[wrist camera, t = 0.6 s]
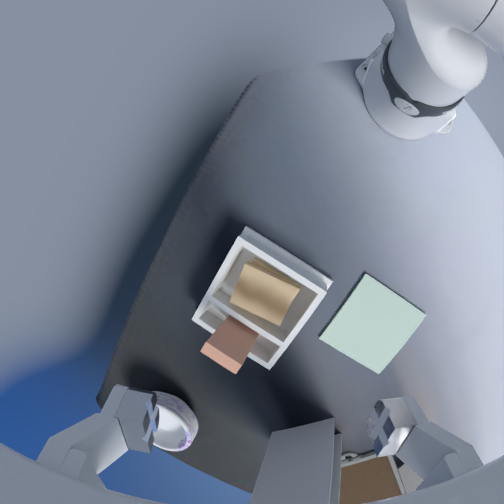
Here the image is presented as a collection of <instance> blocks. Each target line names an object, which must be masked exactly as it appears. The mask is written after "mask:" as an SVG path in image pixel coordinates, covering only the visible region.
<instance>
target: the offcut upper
mask: <svg viewBox="0 0 504 504" xmlns="http://www.w3.org/2000/svg"><path fill="white" fill-rule="evenodd" d="M298 287H299V284H297V283H295V282H292V281H290V280H288V279H286V278H284V277H281V276H279V275H277V274H275V273H273V272H271V271H268V270H266V269H264V268H262V267H260V266H258V265H255V264H253V263H251V262H249V261H248V262H246V263H245V265H244V267H243V270H242V272H241V275H240V277H239V280H238V282H237V284H236V287H235V289H234V292H233V294H232V297H231V299H230V303H232V304H234V305H236V306H239V307H241V308H243V309H245V310H247V311H249V312H251V313H253V314H255V315H257V316H259V317H262V318H264V319H266V320H268V321H270V322H272V323H274V324H277V325H279V326H280V325H281V323H282V321H283V319H284V317H285V315H286V313H287V310H288V308H289V306H290V304H291V302H292V300H293V298H294V296H295V294H296V292H297V290H298Z"/></svg>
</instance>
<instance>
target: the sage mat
mask: <svg viewBox="0 0 504 504" xmlns="http://www.w3.org/2000/svg"><path fill="white" fill-rule="evenodd" d="M425 316H426V314H425V313H423V312H422V311H421V310H419V309H418V308H416V307H415V306H413V305H412V304H410V303H409V302H408V301H406V300H405V299H403V298H402V297H400V296H399V295H397V294H396V293H395V292H393V291H392V290H390V289H389V288H387V287H386V286H384V285H383V284H381V283H380V282H378V281H377V280H375V279H374V278H372V277H371V276H369V275H368V274H366V273H365V275H364V276H363V278H362V279H361V281H360V282H359V283H358V285H357V286H356V288H355V289H354V291H353V292H352V294H351V295H350V296H349V298H348V299H347V301H346V302H345V303H344V305H343V306H342V308H341V309H340V310H339V312H338V313H337V315H336V316H335V317H334V319H333V320H332V321H331V323H330V324H329V325H328V327H327V328H326V329H325V331H324V332H323V333H322V335H321V336H320V337H319V339H320V340H322V341H324V342H325V343H327V344H329V345H330V346H332V347H334V348H335V349H337V350H339V351H340V352H342V353H344V354H345V355H347V356H349V357H350V358H352V359H354V360H356V361H357V362H359V363H361V364H362V365H364V366H366V367H367V368H369V369H371V370H373V371H374V372H376V373H378V374H380V372H381V371H382V370H383V369H384V368H385V367H386V366H387V364H388V363H389V362H390V361H391V360H392V359H393V357H394V356H395V355H396V354H397V353H398V351H399V350H400V349H401V348H402V346H403V345H404V344H405V343H406V341H407V340H408V339H409V338H410V336H411V335H412V334H413V332H414V331H415V330H416V329H417V327H418V326H419V325H420V323H421V322H422V320H423V319H424V318H425Z"/></svg>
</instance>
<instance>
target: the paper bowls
mask: <svg viewBox="0 0 504 504" xmlns="http://www.w3.org/2000/svg"><path fill="white" fill-rule="evenodd" d="M151 392H155V393H156V395H157V402H156V405H157V406H158V407H159V417H160V418H159V425H158V429H157V431H156V432H154V433H153V436H154V442H153V445H155V446H157V447H159V448H162V449H165V450H169V451H181V450H184V449H186V448H188V447H189V446H190V445H191V443H192V441H193V439H194V438H195V436H196V434H197V431H198V421H197V419H196V417H195V415H194V413H193V412H192V410H191V409H190V408H189V407H188V405H187V404H186V403H185V402H184V401H183V400H181V399H180V398H178V397H176V396H174V395H171V394H168V393H164V392H159V391H151Z"/></svg>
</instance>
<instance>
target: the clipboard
mask: <svg viewBox="0 0 504 504" xmlns="http://www.w3.org/2000/svg"><path fill="white" fill-rule="evenodd" d="M347 455H351V456H352V457H351V458H350V459H349V458H346V457H345V456H347ZM403 494H406V492H405V488H404V485H403V483H402V480H401V477H400V474H399V471H398V469H397V466H396V463H395V460H394V458H393V455H388V456H382V457H377V456H376V453H375V451H373V452H370V453H367V454H363V455H362V454H359V455H358V454H356V453H354V452H346V453H344V454H342V455H341V478H340V496H339V504H363V503H369V502H374V501H378V500H383V499H387V498H391V497H395V496H399V495H403Z"/></svg>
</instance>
